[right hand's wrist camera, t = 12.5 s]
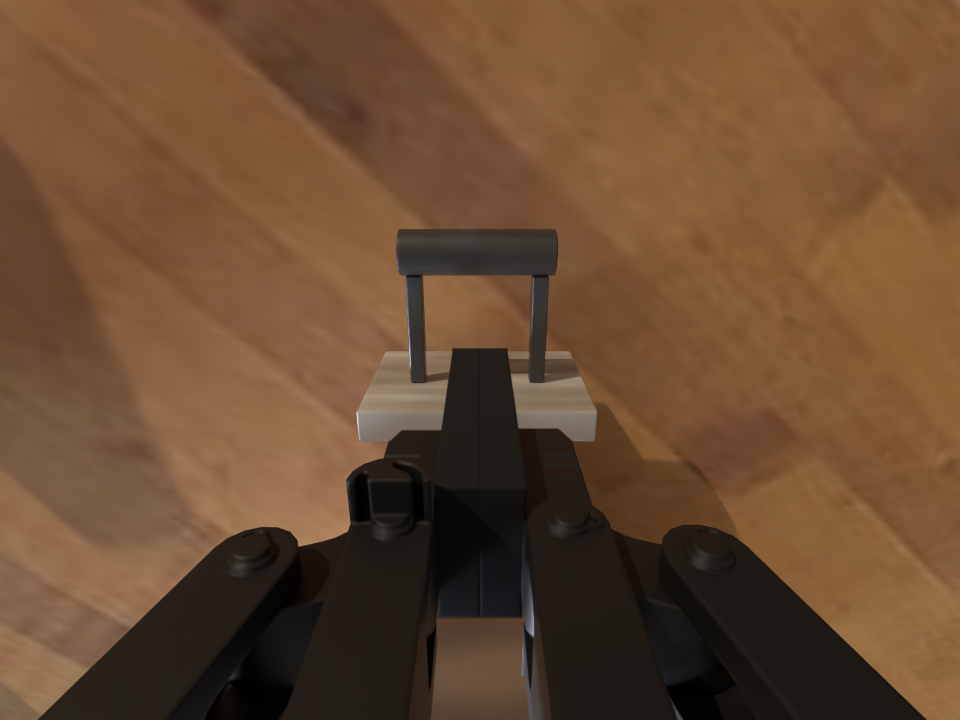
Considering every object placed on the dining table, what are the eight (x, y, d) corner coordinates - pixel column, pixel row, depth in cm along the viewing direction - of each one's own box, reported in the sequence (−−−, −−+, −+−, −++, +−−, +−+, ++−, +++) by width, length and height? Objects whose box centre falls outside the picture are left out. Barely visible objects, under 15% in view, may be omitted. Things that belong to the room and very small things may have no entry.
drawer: (376, 219, 23) (340, 241, 17) (578, 218, 23) (613, 241, 17) (406, 656, 31) (389, 771, 26) (550, 656, 32) (566, 771, 26)
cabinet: (387, 497, 29) (354, 621, 21) (568, 497, 29) (600, 620, 21) (406, 752, 36) (386, 911, 28) (550, 751, 36) (569, 911, 28)
